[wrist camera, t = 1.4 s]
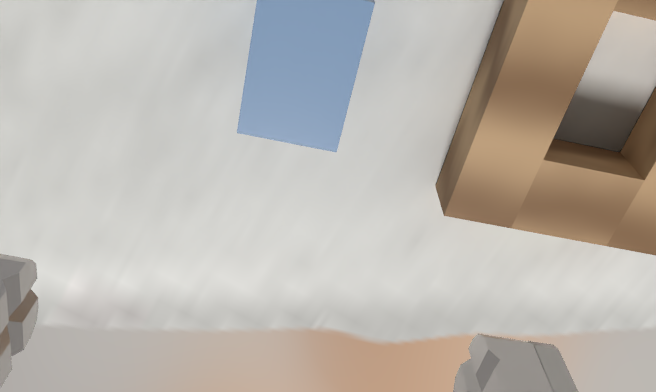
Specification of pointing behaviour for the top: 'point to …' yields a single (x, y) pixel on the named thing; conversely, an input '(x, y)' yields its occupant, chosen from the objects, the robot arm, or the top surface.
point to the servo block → (303, 69)
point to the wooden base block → (549, 135)
